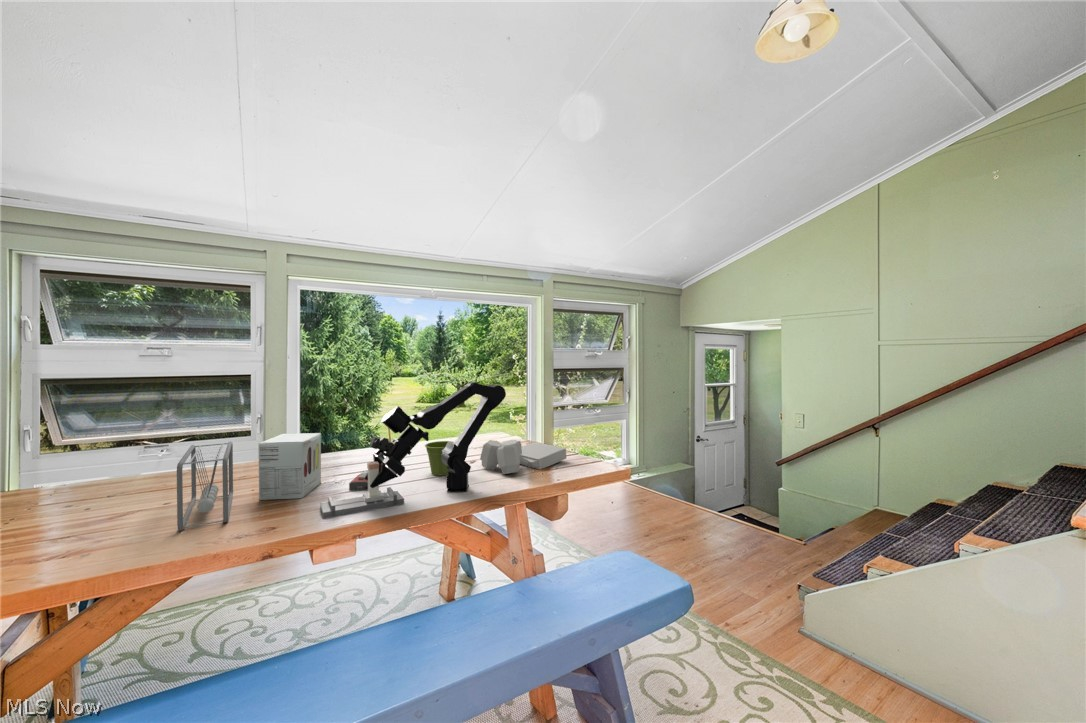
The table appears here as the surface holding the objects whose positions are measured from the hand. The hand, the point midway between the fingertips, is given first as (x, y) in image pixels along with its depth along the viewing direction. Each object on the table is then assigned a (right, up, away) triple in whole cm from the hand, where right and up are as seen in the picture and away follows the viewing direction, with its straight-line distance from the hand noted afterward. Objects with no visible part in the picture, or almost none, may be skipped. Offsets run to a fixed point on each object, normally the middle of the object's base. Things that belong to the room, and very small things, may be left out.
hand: (368, 483), depth 129 cm
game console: (+45, -6, +46) cm, 65 cm away
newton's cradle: (-44, -7, -5) cm, 45 cm away
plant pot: (+14, -6, +35) cm, 38 cm away
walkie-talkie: (-9, -7, +23) cm, 26 cm away
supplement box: (-31, -7, +13) cm, 34 cm away
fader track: (-1, -7, -1) cm, 7 cm away
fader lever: (+1, -5, +1) cm, 5 cm away
